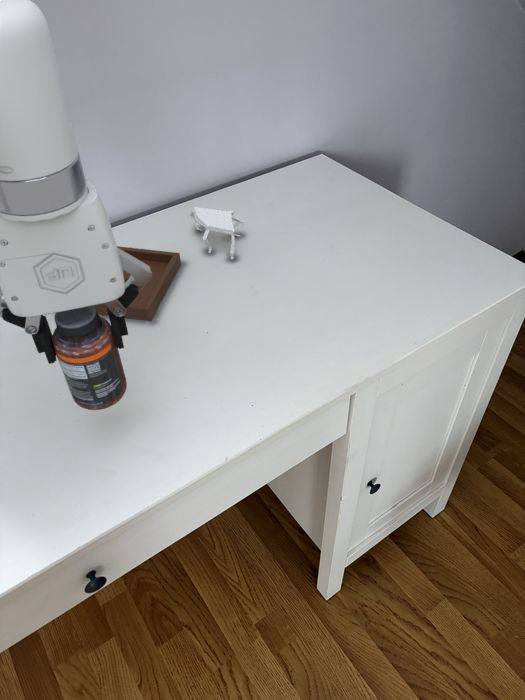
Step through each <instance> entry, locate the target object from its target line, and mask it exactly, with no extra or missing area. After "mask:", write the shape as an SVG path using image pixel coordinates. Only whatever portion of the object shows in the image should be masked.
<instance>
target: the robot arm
mask: <svg viewBox="0 0 525 700" xmlns="http://www.w3.org/2000/svg"><path fill="white" fill-rule="evenodd" d="M47 21H48V20H47V19H46V17H45V15H44V13H43V12H42V10H41V9H40V8H39V6H38V5H37V4H36V3H34V2H33V1H32V0H0V318H2V320H3V321H4V322H7V323H9V324H11V325H13V326H16V327H19V328H22V329H24V332H25V333H26V334H27V335H31V338H32V341H33V343H34V345H35V348H36V351H37V353H38V354H42V353H44V355H45V357H46V360H47V362H48V364H49V365H51V364H55V363H56V362H57V356H56V353H55V350H54V347H53V344H52V336H53V332H52V330H51V327H50V325H49V322H48V319H47V316H46V315H51V314H56V313H57V312H62V311H67V310H72V309H77V308H82V307H87V306H92V305H97V304H102V303H104V304H105V305H106V306H107V309H108V314H109V315H108V319H109V323H110V325H111V328H112V331H113V335H114V339H115V343H116V347H117V348H118V350H121V349H124V348H125V345H124V341H123V340H124V339H123V337H124V336H125V337H126V336H129V332H128V327H127V322H126V318H125V317H124V315H125V314H126V309H127V307H128V306H129V305H130V304H131V303H132V302H133V301H134V299H135V298H136V297H137V296H138V294H139V291H140V290H141V289H143V287H144V286H145V285H146V284H147V283H148V282H149V281H150V279H151V278H152V272H151V269H150V266H149V265H147V264H145V263H143V262H142V261H140V260H138V259H137V258H135V257H133V256H131V255H130V254H128V253H126V252H125V251H123V250H121V249H119V248H118V247H117V241H116V238H115V235H114V232H113V229H112V224H111V222H110V218H109V216H108V214H107V211H106V208H105V205H104V203H103V201H102V199H101V197H100V195H99V192H98V190H97V188H96V186H95V184H94V183H93V182H92V181H90V180H88V179H86V177H85V172H84V168H83V164H82V160H81V156H80V153H79V148H78V147H79V146H78V143H77V139H76V135H75V131H74V128H73V123H72V119H71V114H70V110H69V107H68V102H67V98H66V94H65V90H64V85H63V82H62V77H61V72H60V68H59V65H58V61H57V57H56V53H55V48H54V44H53V39H52V37H51V36H52V35H51V32H50V28H49V25H48V22H47ZM123 271H125V272H127V273H128V274H130V275H131V276H130V278H128V279H126V280H125V281H124V275H123ZM112 279H113V280H112ZM2 297H3V298H2Z"/></svg>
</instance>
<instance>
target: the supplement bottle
mask: <svg viewBox="0 0 525 700" xmlns="http://www.w3.org/2000/svg"><path fill="white" fill-rule="evenodd" d="M54 322H55V325H56V327H55V329H54V331H53V332H52V344H53V347H54V350H55V353H56V359H57V361H58V363H59V366H60V369H61V371H62V374H63V377H64V379H65V383H66V385H67V388H68V390H69V393H70V395H71V397H72V400H73V401H74V403H76V405H77V406H78V407H80V408H82V409H85V410H88V411H97V410H98V411H99V410H105V409H108V408H111V407H112V406H114V405H116V404H117V403H119V402H120V401H121V400H122V398H124V395H125V394H126V391H127V387H128V382H127V377H126V373H125V370H124V366H123V363H122V359H121V354H120V351H119V348H117V347H116V343H115V339H114V335H113V331H112V328H111V324H110V321H108V320H107V319H106V318H104V317H103V316H101V315H100V314H98V313H97V309H96V307H95V306H94V305H92V306H87V307H82V308H77V309H72V310H67V311H62V312H57V313H54Z"/></svg>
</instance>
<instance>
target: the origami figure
mask: <svg viewBox="0 0 525 700" xmlns="http://www.w3.org/2000/svg"><path fill="white" fill-rule="evenodd" d="M234 214H235V211H232V210H231V211H230V210H222V209H212V208H206V207H198V206H193V207H192V209H191V212H190V214H189V217H190V219H191V220H192V222H193V224H194V226H195V229H196V230H198V231H200V232H202V231H203V229H201V228H200V226H199V224H200V225H202V227H204V228H205V230H204V233H203V236H202V241H203V242H204V243H205V244H206V246H208V251H207V252H208V253H209V254H212V246H211V244H210V243H209V241H208V240H207V238H208V236H209V232H210V231H211V232H212V231H213V232H217V233H222V234H226V235H229V236H230V237H231V243H230V245H231V246H230V252H229V253H230V260H234V254H235V251H236V250H235V248H236V239H235V237H241V234H237V233H236V234H235V231H236V230H237V229H238V228H239V227H241V225H243V224H244V223H245V220H243V219H242V218H240V217H238V216H236V215H234ZM233 221H234V222H236V223H235V224H233ZM198 223H199V224H198Z"/></svg>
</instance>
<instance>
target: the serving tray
mask: <svg viewBox="0 0 525 700" xmlns="http://www.w3.org/2000/svg"><path fill="white" fill-rule="evenodd" d="M116 246H117V245H116ZM117 247H118V248H119V249H121V250H123V251H125V252H126V253H128V254H130V255H131V256H133V257H135V258H137V259H138V260H140V261H142V262H143V263H145V264H147V265H149V266H150V269H151V272H152V278H151V279H150V281H149V282H148V283H147V284H146V285H145V286H144V287H143V289H141V290H140V291H139V294H138V296H137V297H136V298H135V299H134V301H133V302H132V303H131V304H130V305H129V306H128V307H127V309H126V314H125V315H124V317H125V319H133V320H139V321H140V320H142V321H147V322H148V321H149V322H151V321H153V319H154V317H155V315H156V313H157V311H158V309H159V307H160V305H161V303H162V302H163V300H164V298H165V296H166V294H167V292H168V291H169V289H170V287H171V285H172V282H173V281H174V279H175V277H176V275H177V273H178V271H179V269H180V267H181V265H182V259H181V254H180V252H175V251H174V252H173V251H165V250H156V249H148V248H147V249H146V248H137V247H130V246H129V247H128V246H117ZM123 275H124V281H125V280H126V279H128V278H130V276H131V275H130V274H128V273H127V272H125V271H123ZM112 280H113V279H112ZM94 306H95V307H96V309H97V313H98V315H103V316H109V314H108V309H107V306H106V305H105V304H104V303H102V304H97V305H94Z"/></svg>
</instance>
